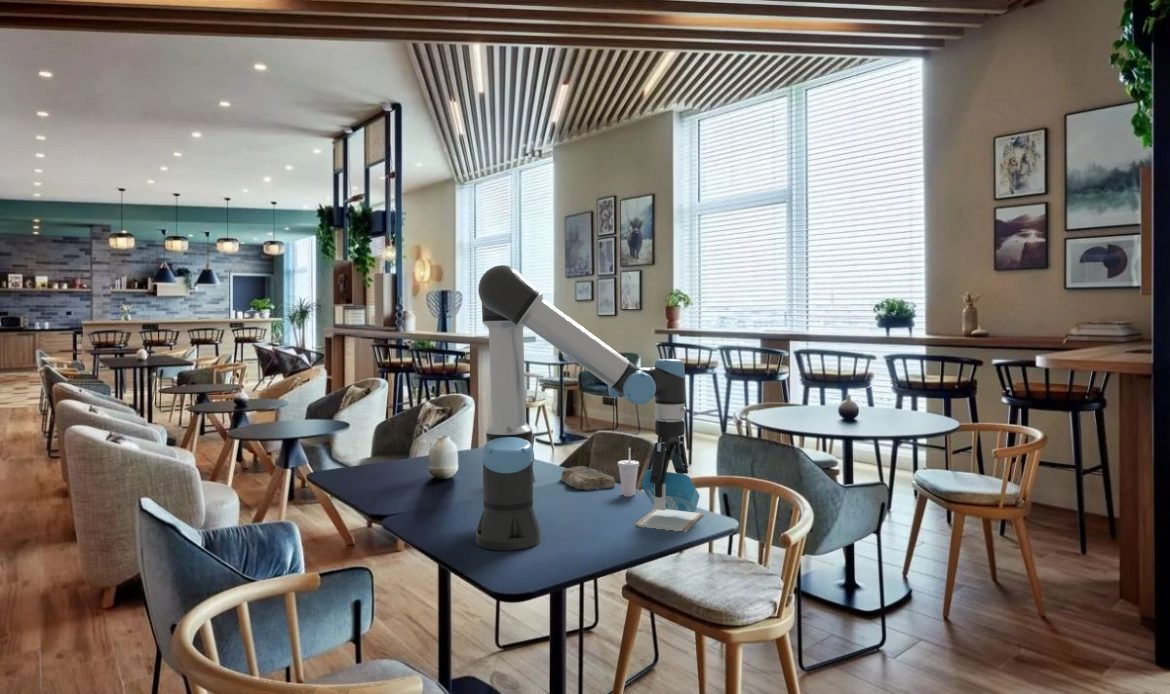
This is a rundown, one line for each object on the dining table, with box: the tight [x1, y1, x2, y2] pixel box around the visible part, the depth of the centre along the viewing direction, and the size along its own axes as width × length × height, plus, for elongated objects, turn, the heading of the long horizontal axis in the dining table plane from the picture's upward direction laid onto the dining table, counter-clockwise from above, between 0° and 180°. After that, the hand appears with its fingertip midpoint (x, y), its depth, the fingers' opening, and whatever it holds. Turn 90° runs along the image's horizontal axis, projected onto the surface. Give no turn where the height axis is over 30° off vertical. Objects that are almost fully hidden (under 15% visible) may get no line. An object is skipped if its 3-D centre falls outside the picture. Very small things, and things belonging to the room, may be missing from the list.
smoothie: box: [617, 447, 640, 497], centre depth 212 cm, size 6×6×14 cm
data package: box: [641, 469, 700, 513], centre depth 185 cm, size 12×4×12 cm
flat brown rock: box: [560, 465, 616, 490], centre depth 228 cm, size 14×5×20 cm
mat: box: [634, 508, 704, 532], centre depth 185 cm, size 16×13×1 cm
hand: (669, 503), depth 185 cm, fingers closed on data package, 12 cm apart
